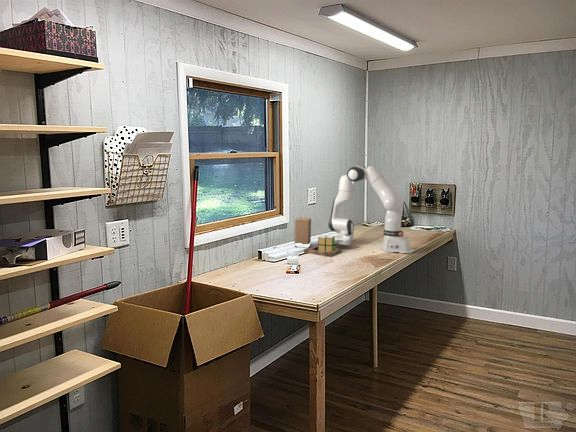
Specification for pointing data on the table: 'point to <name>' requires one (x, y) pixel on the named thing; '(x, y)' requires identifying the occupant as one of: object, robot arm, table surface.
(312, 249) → the walnut bay
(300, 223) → the wooden block
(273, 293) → the table surface
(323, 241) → the puzzle cube
